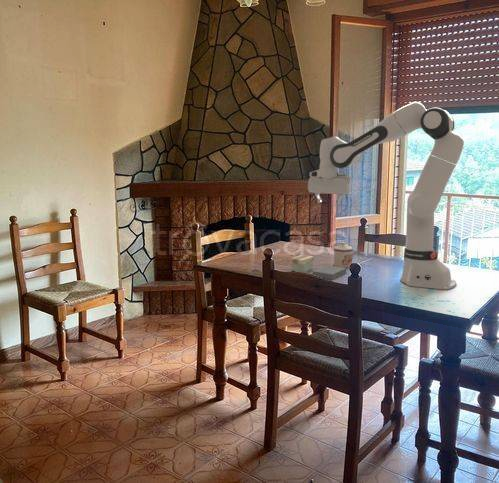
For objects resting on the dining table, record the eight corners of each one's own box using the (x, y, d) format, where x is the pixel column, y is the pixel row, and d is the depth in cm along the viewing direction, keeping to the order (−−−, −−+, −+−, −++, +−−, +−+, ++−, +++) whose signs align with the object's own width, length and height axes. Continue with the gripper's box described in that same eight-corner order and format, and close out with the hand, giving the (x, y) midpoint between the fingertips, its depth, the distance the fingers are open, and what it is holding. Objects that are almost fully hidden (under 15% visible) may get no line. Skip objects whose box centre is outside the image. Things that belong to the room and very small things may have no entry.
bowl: (312, 270, 243) (312, 261, 243) (304, 273, 238) (304, 264, 237) (299, 268, 248) (299, 259, 247) (291, 271, 242) (291, 262, 241)
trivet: (346, 273, 237) (346, 268, 237) (332, 279, 227) (332, 274, 226) (326, 270, 243) (326, 265, 242) (312, 276, 233) (312, 271, 232)
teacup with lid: (343, 269, 244) (344, 245, 242) (329, 266, 251) (329, 242, 249) (360, 265, 252) (361, 241, 249) (345, 262, 259) (346, 239, 256)
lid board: (313, 260, 244) (313, 256, 243) (302, 264, 236) (302, 260, 236) (301, 258, 248) (301, 254, 247) (290, 262, 240) (290, 258, 239)
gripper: (353, 173, 234) (352, 204, 236) (313, 172, 245) (312, 201, 248) (346, 174, 229) (346, 205, 231) (306, 172, 241) (306, 202, 243)
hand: (328, 203), depth 240 cm, fingers open, 8 cm apart
